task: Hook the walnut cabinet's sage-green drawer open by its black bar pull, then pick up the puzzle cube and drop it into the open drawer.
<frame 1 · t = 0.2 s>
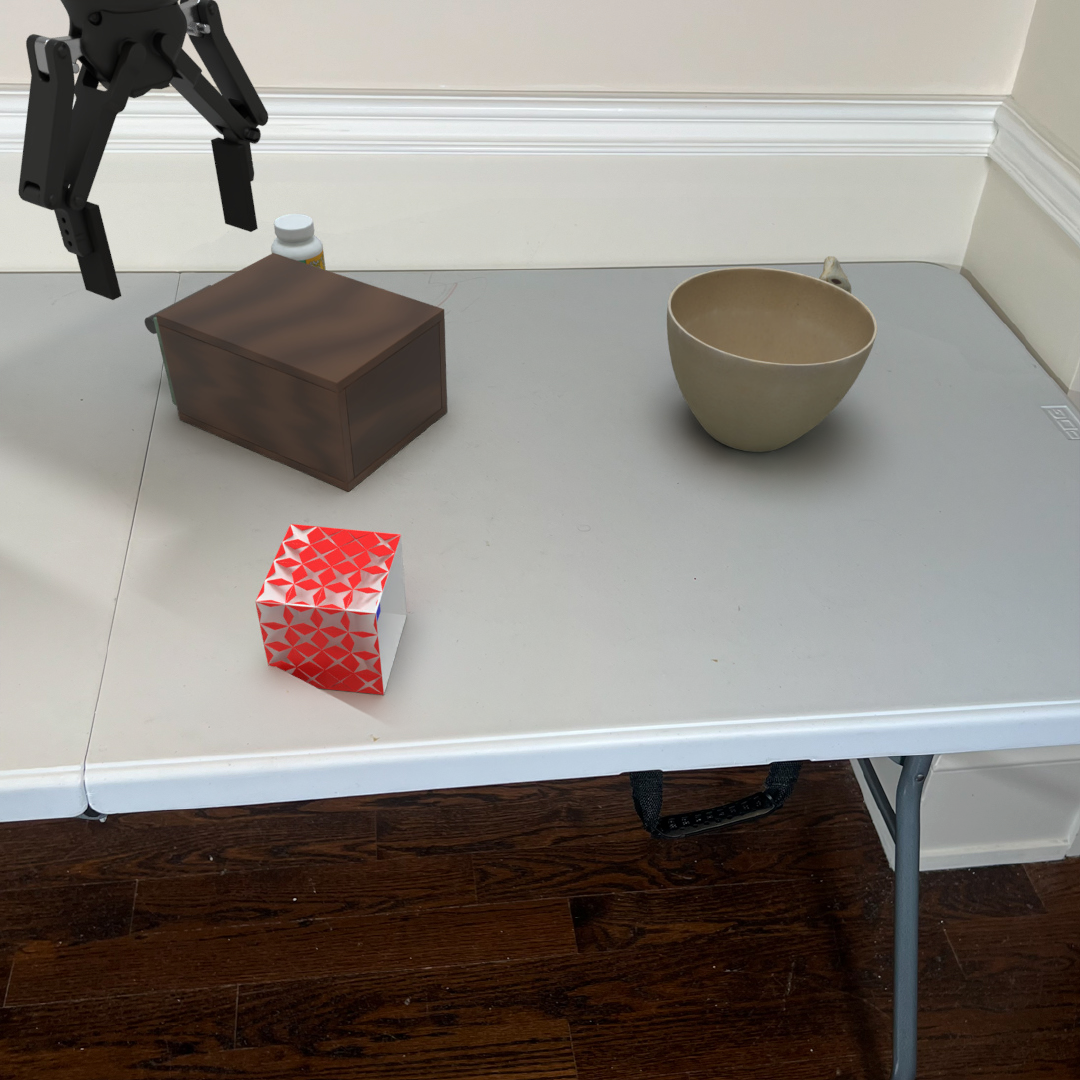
hand: (176, 258, 76), 20 cm above the table, tool pointing down, fingers open, 13 cm apart
beige bowl: (748, 428, 98), on the table
drawer: (272, 352, 95), point 5 cm above the table, slide at 0.0 cm, touching cabinet
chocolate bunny: (815, 344, 110), on the table
supplement bottle: (304, 306, 113), on the table
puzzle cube: (342, 650, 74), on the table
cabinet: (315, 415, 97), on the table
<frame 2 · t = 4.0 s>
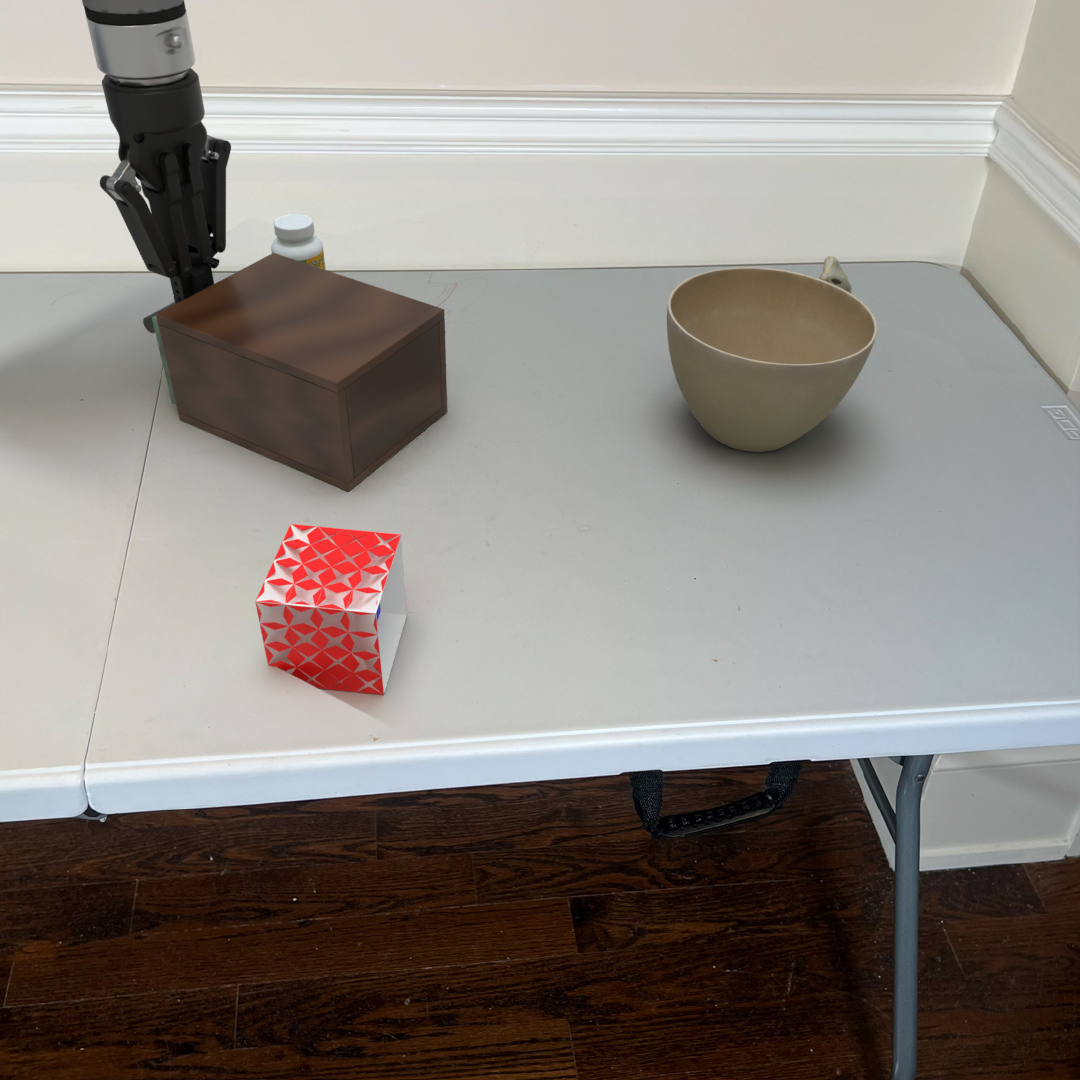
hand: (202, 332, 98), 5 cm above the table, tool pointing down, fingers closed
drawer: (271, 351, 95), point 5 cm above the table, slide at 0.2 cm, touching gripper
everything else where it was.
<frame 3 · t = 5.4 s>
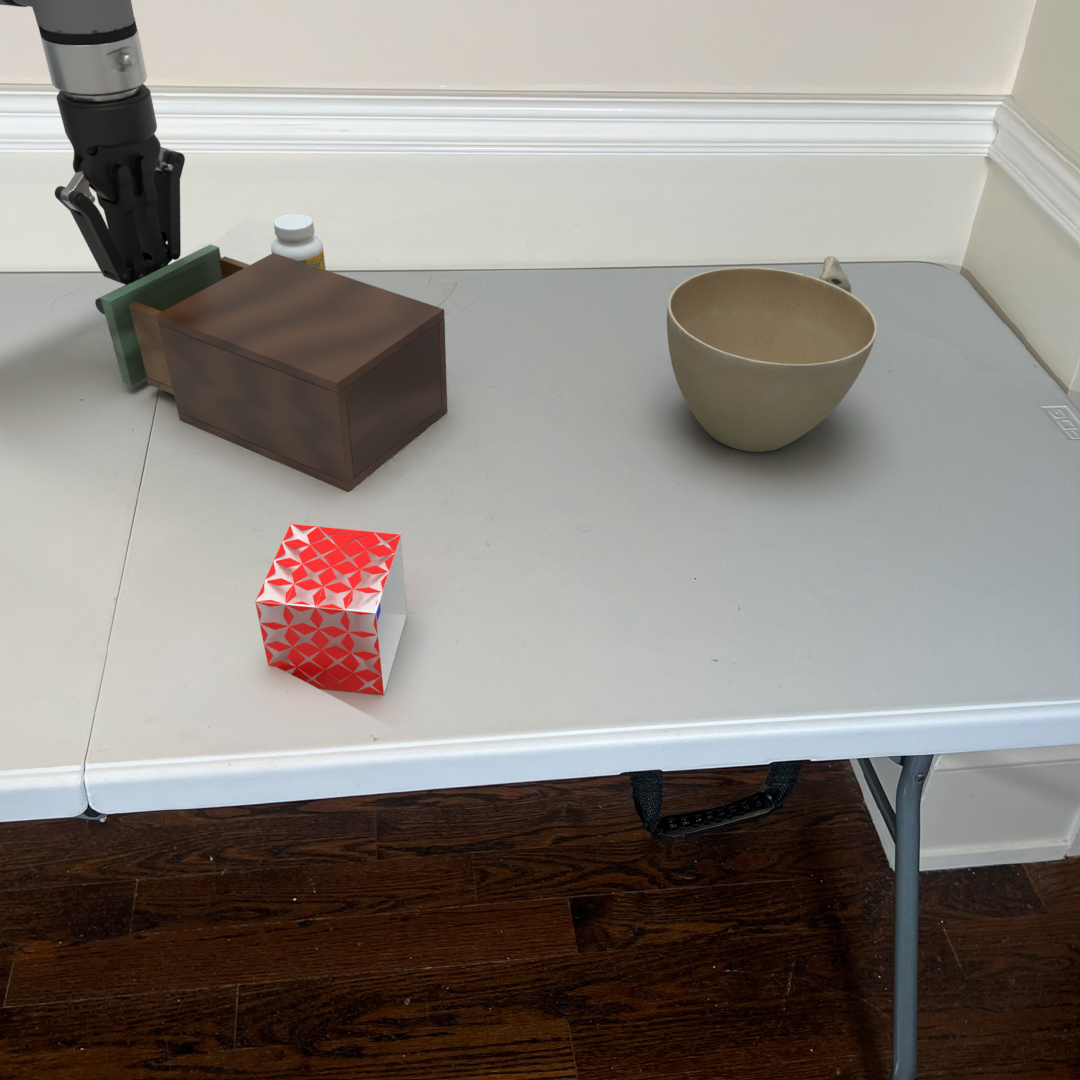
hand: (159, 335, 102), 2 cm above the table, tool pointing down, fingers closed
drawer: (219, 332, 97), point 5 cm above the table, slide at 6.5 cm, touching gripper
everything else where it was.
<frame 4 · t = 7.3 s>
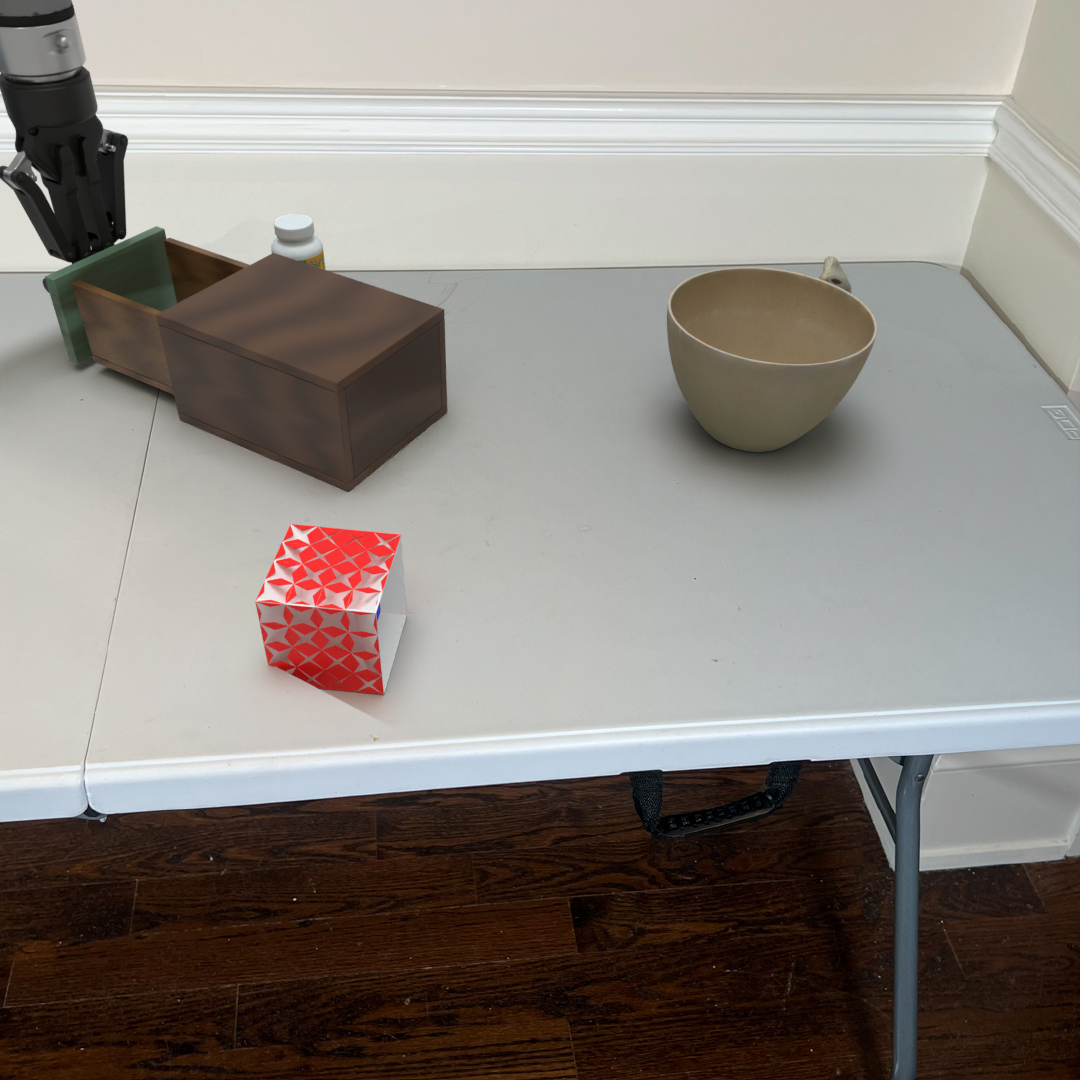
hand: (107, 314, 105), 2 cm above the table, tool pointing down, fingers closed
drawer: (163, 310, 100), point 5 cm above the table, slide at 13.9 cm
everything else where it was.
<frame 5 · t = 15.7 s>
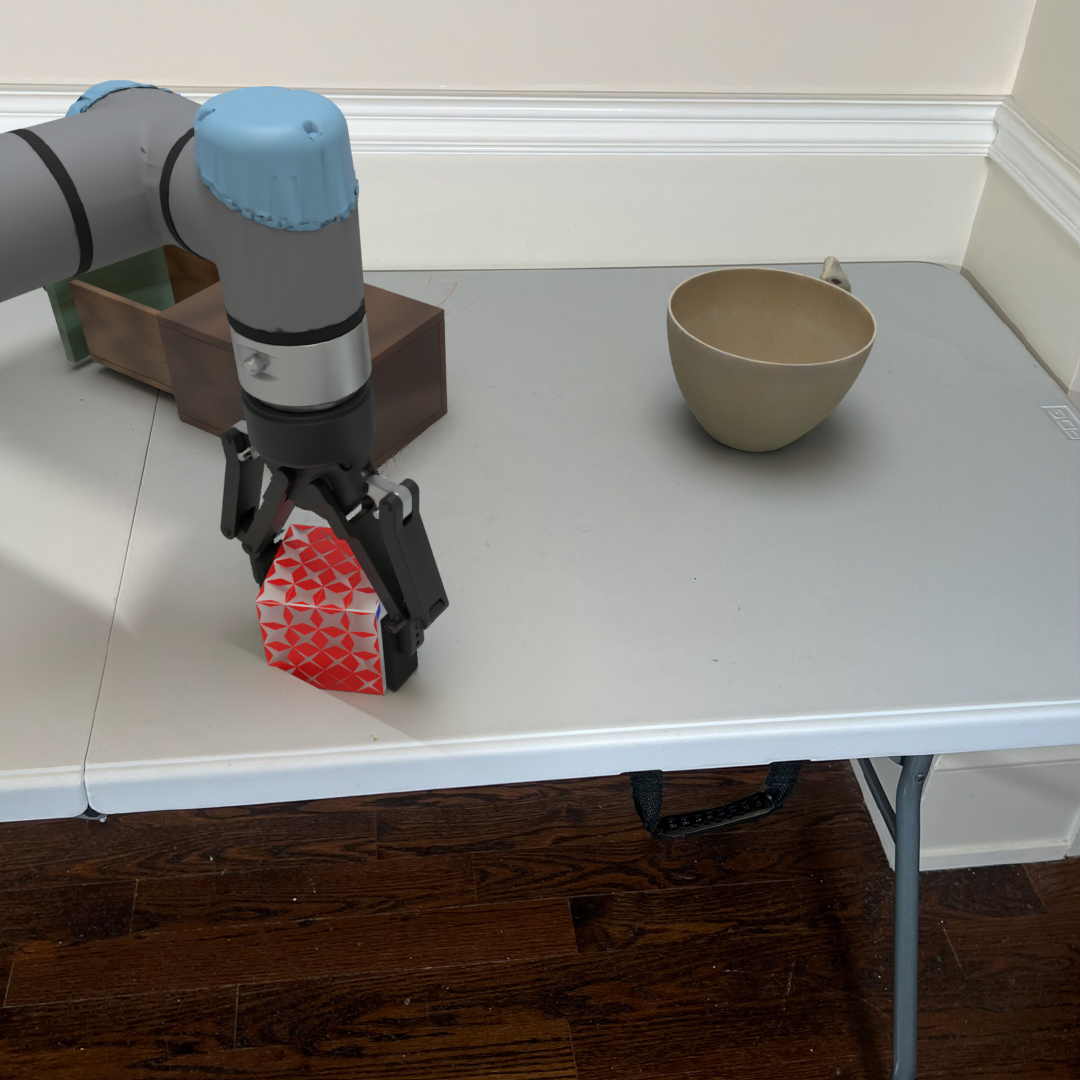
hand: (341, 646, 74), 0 cm above the table, tool pointing down, fingers open, 10 cm apart
drawer: (160, 309, 100), point 5 cm above the table, slide at 14.2 cm
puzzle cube: (342, 650, 74), on the table, touching gripper
everything else where it was.
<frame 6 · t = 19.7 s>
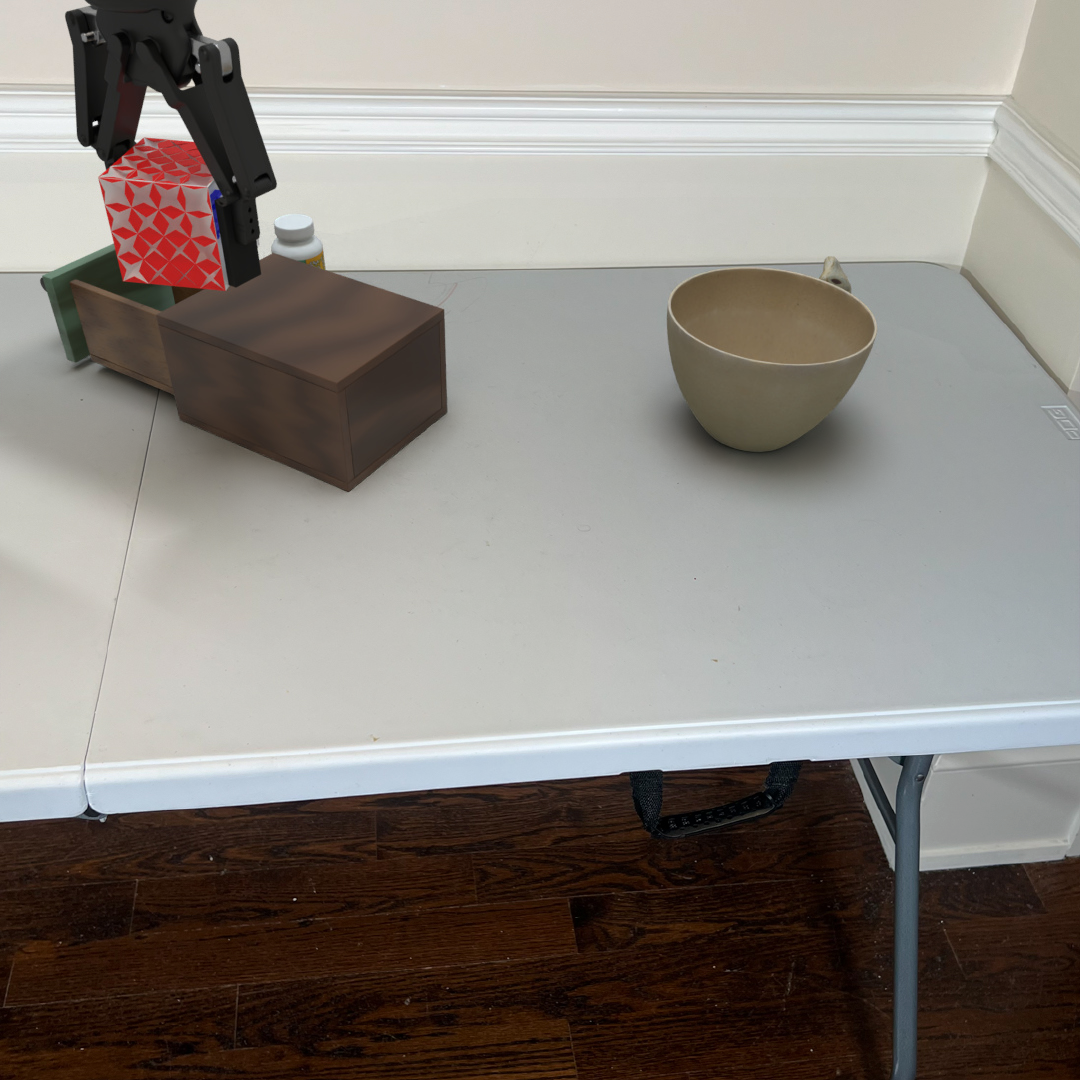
hand: (192, 260, 80), 18 cm above the table, tool pointing down, fingers closed on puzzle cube, 10 cm apart
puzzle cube: (194, 265, 80), point 18 cm above the table, touching gripper
everything else where it was.
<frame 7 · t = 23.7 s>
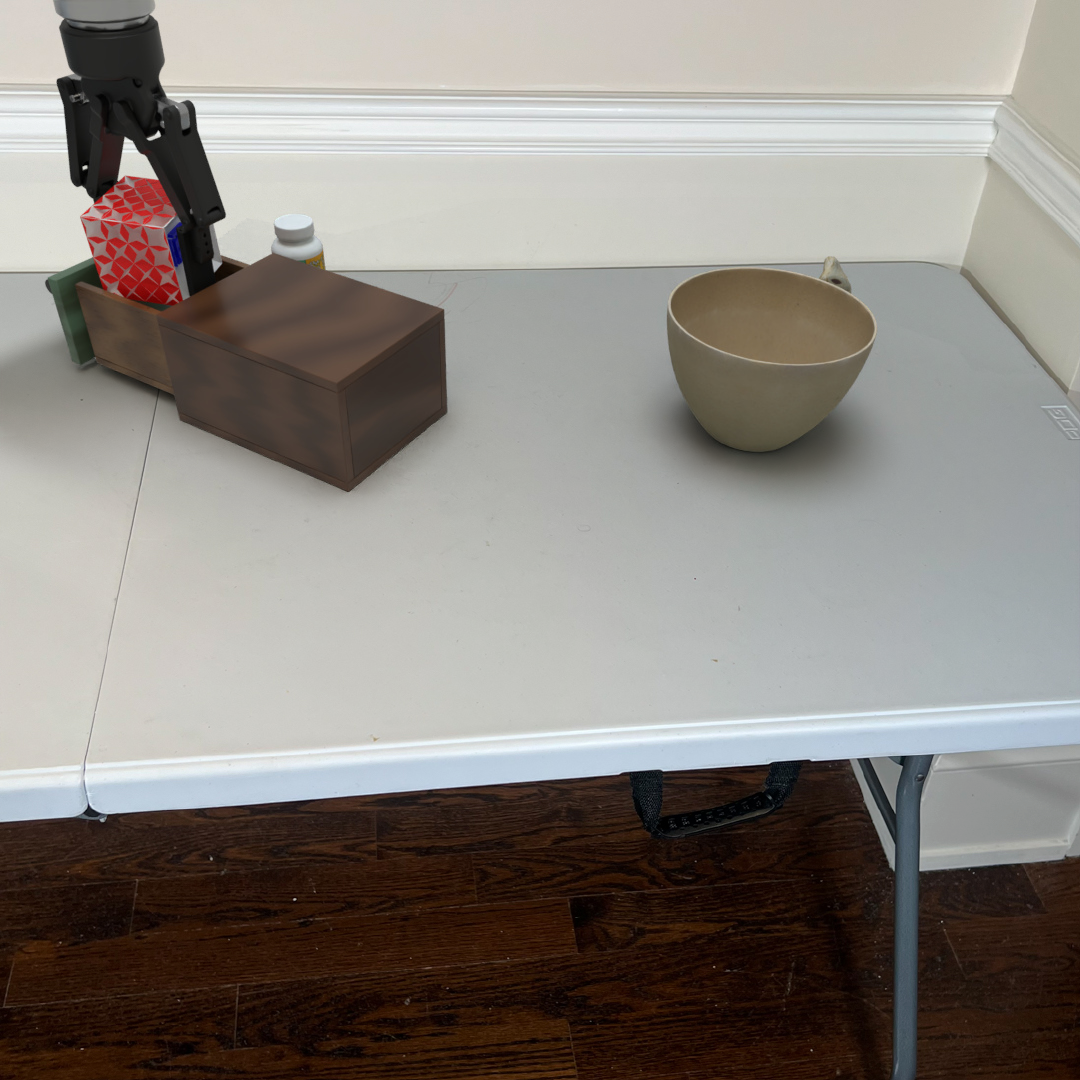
hand: (163, 277, 97), 9 cm above the table, tool pointing down, fingers closed on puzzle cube, 9 cm apart
drawer: (165, 311, 100), point 5 cm above the table, slide at 13.5 cm
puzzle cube: (165, 281, 97), point 9 cm above the table, touching gripper
everything else where it was.
when the fingers open (9 cm above the table, at t = 24.0 s): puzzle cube drops 7 cm, resting on drawer.
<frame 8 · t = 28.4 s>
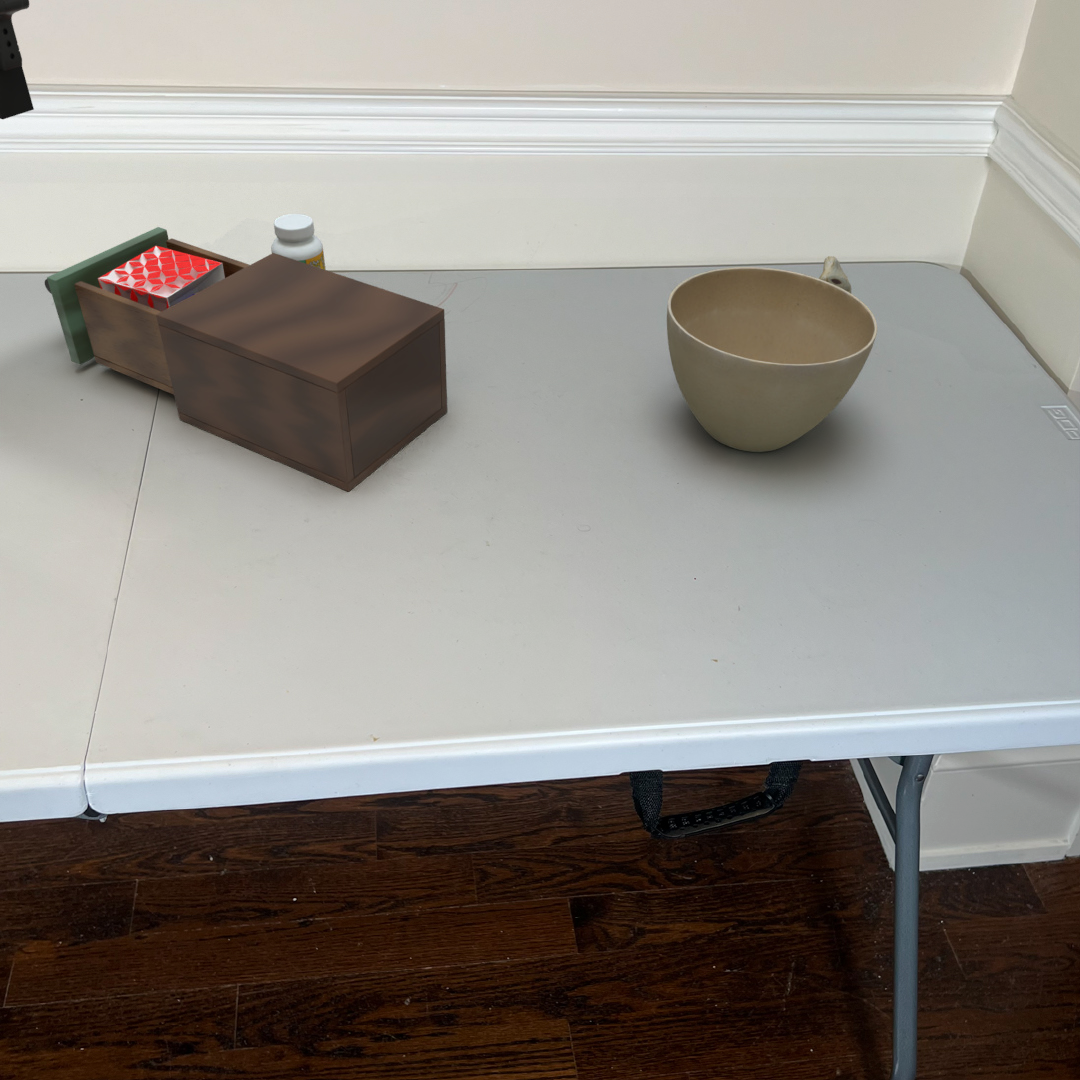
drawer: (165, 311, 100), point 5 cm above the table, slide at 13.6 cm, touching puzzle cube
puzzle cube: (177, 347, 101), point 2 cm above the table, touching drawer
everything else where it was.
at the end: drawer slide at 13.6 cm; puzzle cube inside the target area in the drawer (0.2 cm from its centre), point 1.9 cm above the cabinet's base; the gripper is holding nothing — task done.
